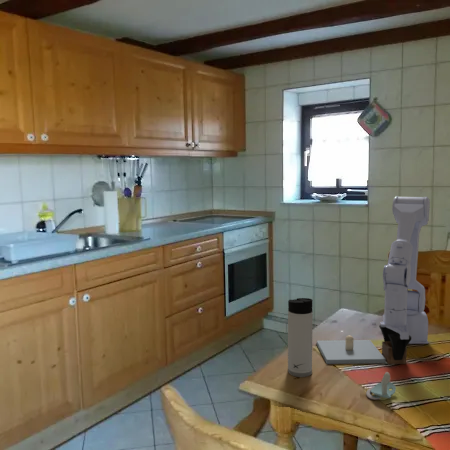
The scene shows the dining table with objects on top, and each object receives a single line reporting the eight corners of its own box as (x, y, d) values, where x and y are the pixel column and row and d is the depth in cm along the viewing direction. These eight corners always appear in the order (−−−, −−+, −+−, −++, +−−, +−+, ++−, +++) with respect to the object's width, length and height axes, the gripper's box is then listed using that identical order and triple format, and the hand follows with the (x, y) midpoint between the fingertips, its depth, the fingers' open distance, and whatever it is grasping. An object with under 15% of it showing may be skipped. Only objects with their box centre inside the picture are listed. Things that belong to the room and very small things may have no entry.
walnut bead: (399, 356, 131) (400, 341, 130) (406, 363, 126) (406, 348, 125) (381, 356, 131) (382, 341, 130) (387, 363, 126) (388, 348, 125)
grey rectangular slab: (369, 343, 140) (370, 326, 139) (385, 363, 126) (386, 344, 125) (316, 344, 140) (316, 327, 139) (326, 363, 126) (326, 345, 125)
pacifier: (361, 399, 107) (387, 406, 104) (361, 373, 107) (387, 379, 103) (372, 387, 113) (397, 393, 110) (372, 362, 113) (397, 367, 109)
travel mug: (298, 380, 117) (298, 303, 114) (283, 370, 123) (283, 296, 120) (317, 374, 120) (318, 299, 117) (302, 365, 126) (302, 293, 123)
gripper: (372, 299, 133) (371, 345, 135) (390, 316, 119) (388, 366, 121) (397, 299, 133) (395, 344, 135) (417, 315, 119) (415, 366, 121)
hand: (394, 355), depth 128 cm, fingers open, 5 cm apart
